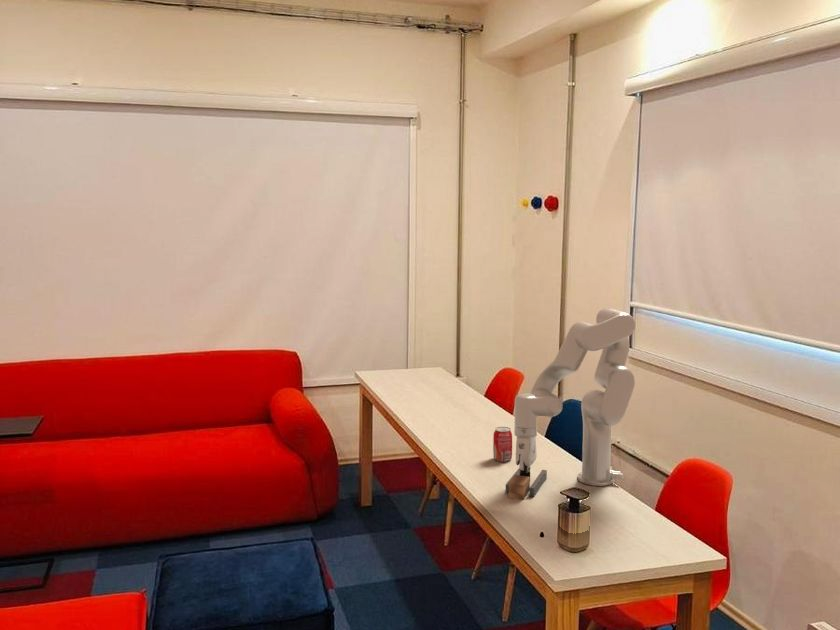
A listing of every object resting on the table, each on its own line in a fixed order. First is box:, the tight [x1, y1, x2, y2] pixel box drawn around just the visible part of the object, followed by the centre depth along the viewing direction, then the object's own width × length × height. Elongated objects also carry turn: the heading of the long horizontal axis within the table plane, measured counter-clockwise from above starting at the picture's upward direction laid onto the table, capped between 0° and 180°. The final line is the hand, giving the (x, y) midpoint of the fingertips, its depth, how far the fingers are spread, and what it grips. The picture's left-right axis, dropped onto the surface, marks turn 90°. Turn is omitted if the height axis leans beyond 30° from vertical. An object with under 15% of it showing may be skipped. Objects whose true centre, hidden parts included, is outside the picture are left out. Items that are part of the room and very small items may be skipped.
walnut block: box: [508, 475, 531, 501], centre depth 248 cm, size 5×8×5 cm, turn 157°
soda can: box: [492, 426, 513, 463], centre depth 281 cm, size 7×7×12 cm
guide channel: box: [505, 468, 548, 498], centre depth 256 cm, size 10×18×3 cm, turn 157°
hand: (524, 482), depth 254 cm, fingers closed
